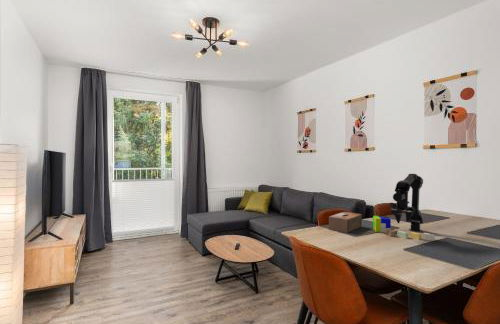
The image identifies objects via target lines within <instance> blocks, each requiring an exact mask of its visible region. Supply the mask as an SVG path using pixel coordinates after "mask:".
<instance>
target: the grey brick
mask: <svg viewBox="0 0 500 324" xmlns="http://www.w3.org/2000/svg"><path fill="white" fill-rule="evenodd" d="M422 239H424V240H427V241H432V242H433V241H435V240H436V235H435V234H433V233H428V232H423V233H422Z"/></svg>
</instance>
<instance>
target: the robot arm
mask: <svg viewBox="0 0 500 324" xmlns="http://www.w3.org/2000/svg"><path fill="white" fill-rule="evenodd" d="M423 184H424V179H423V178H422V177H421V176H419V175H418V174H417V173H408V174H407V176H406V177H405V178H404V179H403V180H399V181H398V182H396V184H395V185H396V186H395V188H394V192H395V193H394V194H392V199H393V201H395V202H396V203H394V202H389V208H390V213H391V214H393V216H394V217H395V221H396V223H397V224H400V222H401V219H402V213H403V212H404V213H405V220H406V221H405V222H407V223H410V228H409V229H408V231H412V232H415V233H418V232H423V230H422V229H421V224H424V219H423V217H422V212H421V211H420V189H421V188H422V187H423ZM410 189H412V190H411V206H409V204H410V201H409V191H410Z"/></svg>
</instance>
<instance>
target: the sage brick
mask: <svg viewBox="0 0 500 324" xmlns="http://www.w3.org/2000/svg"><path fill="white" fill-rule="evenodd" d="M396 237H399V238H403V239H409V232H405V231H403V230H398V231H397V232H396Z"/></svg>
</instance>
